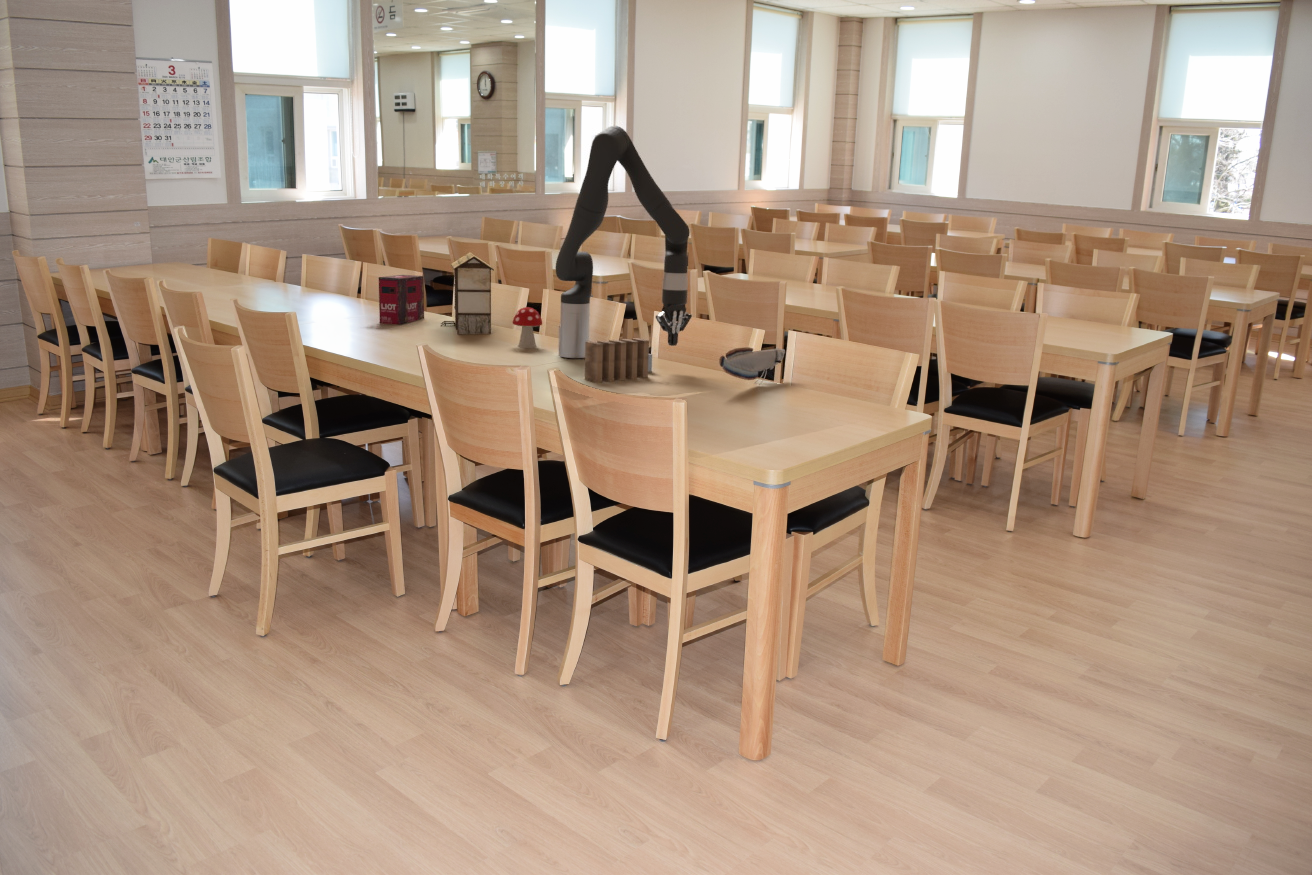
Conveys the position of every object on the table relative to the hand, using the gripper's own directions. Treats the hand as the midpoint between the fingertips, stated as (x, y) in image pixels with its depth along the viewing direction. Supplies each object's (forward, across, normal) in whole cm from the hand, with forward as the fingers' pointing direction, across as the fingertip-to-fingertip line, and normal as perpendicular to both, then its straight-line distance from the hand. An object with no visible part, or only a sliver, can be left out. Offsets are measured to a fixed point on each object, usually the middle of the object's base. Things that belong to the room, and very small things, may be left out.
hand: (672, 345), depth 305 cm
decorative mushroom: (+9, -17, +55) cm, 58 cm away
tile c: (+8, -21, 0) cm, 23 cm away
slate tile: (+6, -7, +2) cm, 9 cm away
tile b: (+8, -17, 0) cm, 19 cm away
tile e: (+8, -29, 0) cm, 31 cm away
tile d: (+8, -25, 0) cm, 27 cm away
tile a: (+8, -13, 0) cm, 15 cm away
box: (+9, -30, +123) cm, 127 cm away
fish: (+9, +5, -29) cm, 31 cm away
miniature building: (+9, -18, +96) cm, 98 cm away
